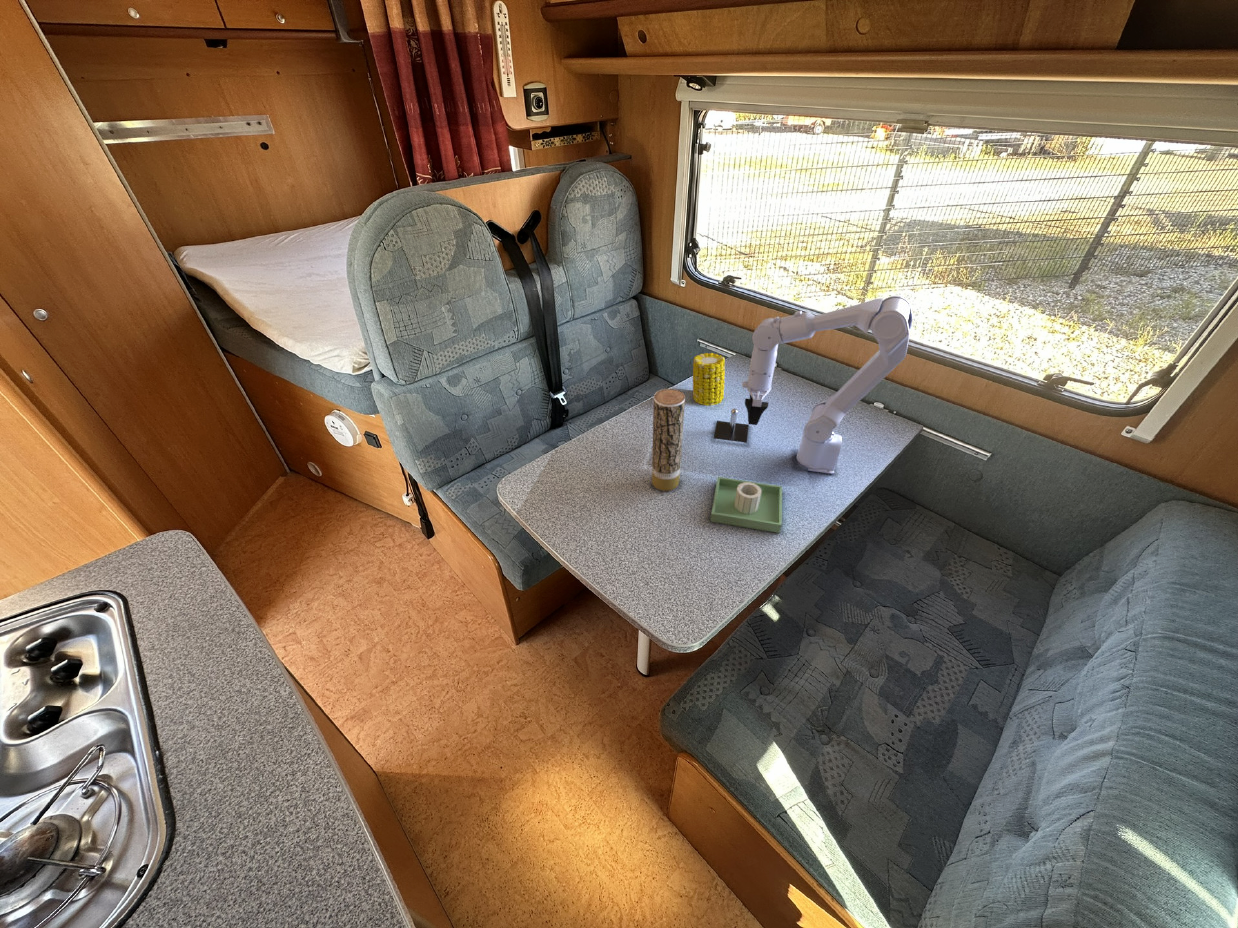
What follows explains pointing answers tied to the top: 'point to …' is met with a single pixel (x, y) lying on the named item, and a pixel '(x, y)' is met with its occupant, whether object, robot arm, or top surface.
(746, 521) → the tray
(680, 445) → the bark log
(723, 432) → the stand
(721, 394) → the food
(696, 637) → the top surface
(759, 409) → the robot arm
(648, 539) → the top surface
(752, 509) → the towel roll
